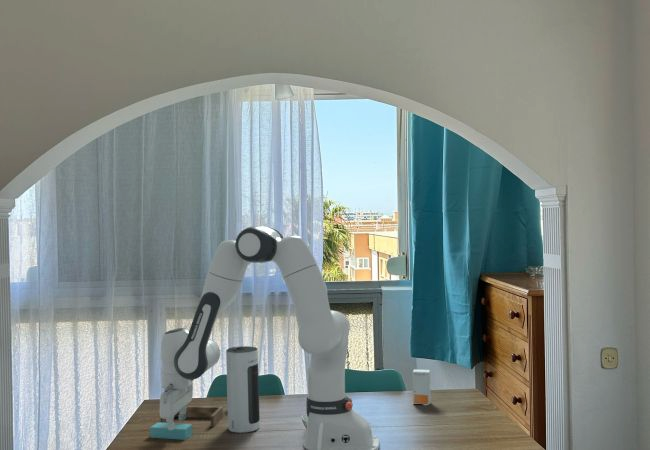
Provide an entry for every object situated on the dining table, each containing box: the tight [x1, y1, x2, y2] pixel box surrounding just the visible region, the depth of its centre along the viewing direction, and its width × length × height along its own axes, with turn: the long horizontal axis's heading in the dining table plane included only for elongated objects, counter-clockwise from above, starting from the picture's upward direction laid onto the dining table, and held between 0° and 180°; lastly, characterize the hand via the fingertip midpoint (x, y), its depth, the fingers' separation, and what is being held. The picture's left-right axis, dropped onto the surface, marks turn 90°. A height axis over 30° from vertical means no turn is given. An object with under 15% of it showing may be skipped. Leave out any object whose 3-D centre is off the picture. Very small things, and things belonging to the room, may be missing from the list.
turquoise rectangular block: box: [149, 421, 194, 441], centre depth 203 cm, size 12×5×4 cm, turn 76°
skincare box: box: [412, 368, 432, 405], centre depth 233 cm, size 6×4×12 cm
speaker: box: [225, 345, 261, 434], centre depth 209 cm, size 11×10×26 cm
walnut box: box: [160, 405, 224, 428], centre depth 217 cm, size 18×11×4 cm, turn 83°
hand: (176, 424), depth 202 cm, fingers open, 8 cm apart
